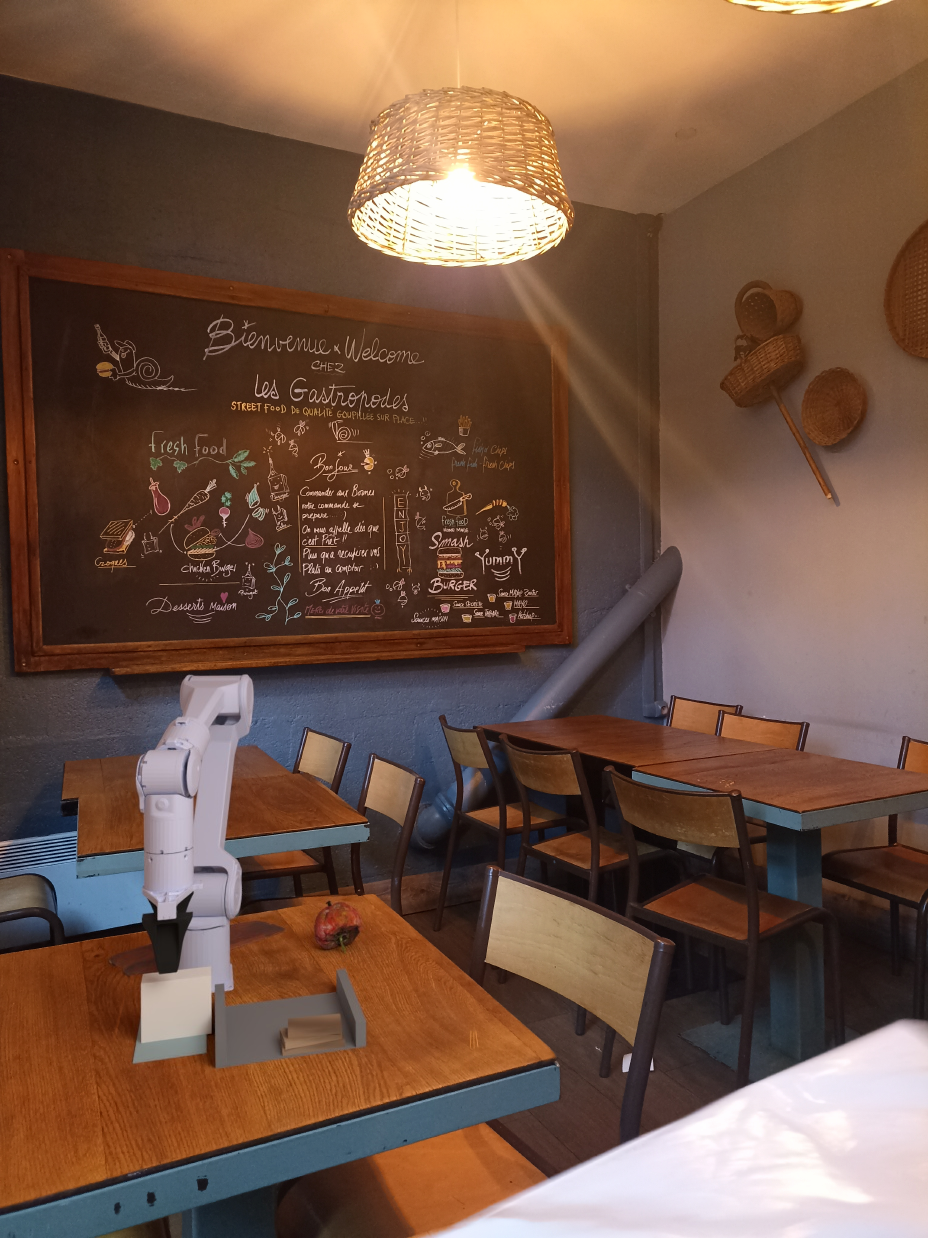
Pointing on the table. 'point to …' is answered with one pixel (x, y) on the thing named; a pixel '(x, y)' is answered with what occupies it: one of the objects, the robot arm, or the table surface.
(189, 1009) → the white rectangular block
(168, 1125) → the table surface
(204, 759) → the robot arm
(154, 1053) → the mat
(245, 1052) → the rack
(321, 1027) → the offcut stack
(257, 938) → the wooden tablet
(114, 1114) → the table surface
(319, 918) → the rotten apple
